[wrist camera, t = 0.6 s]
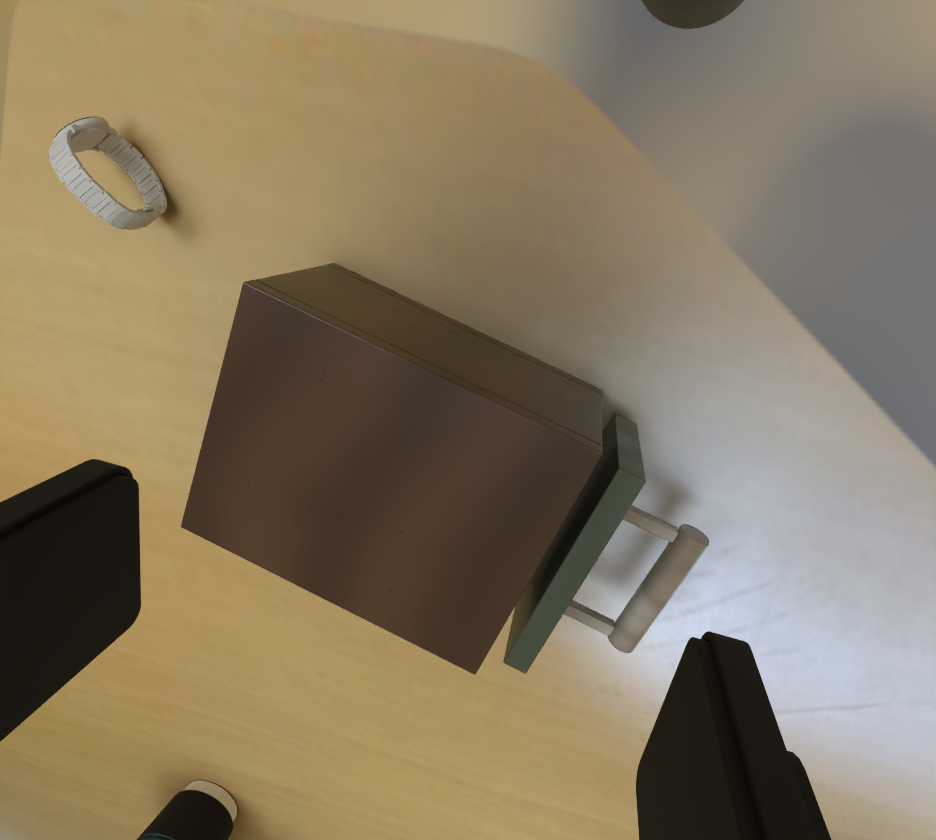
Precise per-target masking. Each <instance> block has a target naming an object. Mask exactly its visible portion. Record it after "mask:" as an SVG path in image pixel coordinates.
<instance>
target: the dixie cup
mask: <svg viewBox="0 0 936 840" xmlns="http://www.w3.org/2000/svg"><path fill="white" fill-rule="evenodd" d="M236 816H237V807H236V804H235V802H234V800H233V799H232V797H231V796H230V795H229V794H228V793H227V792H226V791H225V790H224V789H222V788H221V787H219V786H217V785H215V784H213V783H210V782H207V781H194V782H192V783H190V784H189V785H188V786H187V787H186V788H185V789H184V790H183V791H181V792H179V793H178V794H176V795H175V796H174V798H173V799H172V800H171V801H170V802H169V803H168V804H167V806H166V807H165V808H164V809H163V810H162V811H161V812H160V814H159V815H158V816H157V817H156V818H155V819H154V820H153V822H152V823H151V824H150V825H149V826H148V827H147V828H146V830H145V831H144V832H143V833H142V834H141V835H140V836H139V838H138V839H137V840H228V839H229V837H230V835H231V832H232V830H233V822H234V820H235V818H236Z"/></svg>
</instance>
